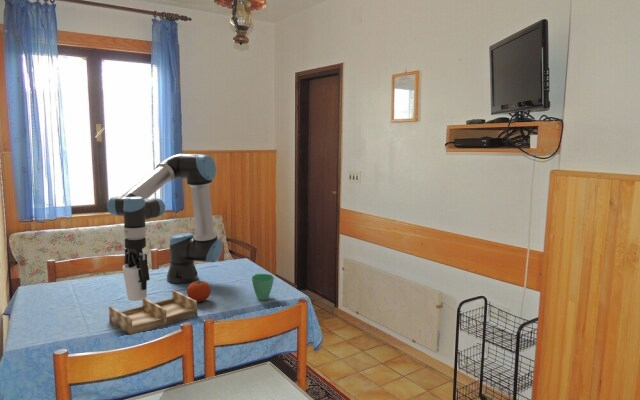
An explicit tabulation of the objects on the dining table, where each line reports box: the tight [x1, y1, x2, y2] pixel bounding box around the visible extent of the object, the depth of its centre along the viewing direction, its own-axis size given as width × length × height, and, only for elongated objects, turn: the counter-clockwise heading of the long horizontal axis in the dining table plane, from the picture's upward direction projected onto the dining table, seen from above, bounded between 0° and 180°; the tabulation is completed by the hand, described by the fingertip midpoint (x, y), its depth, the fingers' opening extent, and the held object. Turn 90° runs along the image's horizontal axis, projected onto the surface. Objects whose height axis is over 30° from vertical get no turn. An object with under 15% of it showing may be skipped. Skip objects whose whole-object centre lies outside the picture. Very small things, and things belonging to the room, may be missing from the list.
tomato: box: [186, 279, 212, 303], centre depth 202 cm, size 10×10×10 cm
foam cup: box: [122, 262, 150, 302], centre depth 176 cm, size 10×9×13 cm
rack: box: [108, 289, 198, 336], centre depth 183 cm, size 18×28×6 cm, turn 137°
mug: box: [251, 272, 275, 301], centre depth 210 cm, size 15×10×10 cm
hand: (136, 294), depth 177 cm, fingers closed on foam cup, 9 cm apart
